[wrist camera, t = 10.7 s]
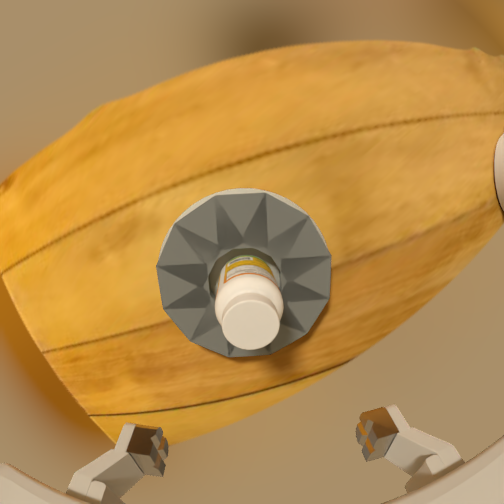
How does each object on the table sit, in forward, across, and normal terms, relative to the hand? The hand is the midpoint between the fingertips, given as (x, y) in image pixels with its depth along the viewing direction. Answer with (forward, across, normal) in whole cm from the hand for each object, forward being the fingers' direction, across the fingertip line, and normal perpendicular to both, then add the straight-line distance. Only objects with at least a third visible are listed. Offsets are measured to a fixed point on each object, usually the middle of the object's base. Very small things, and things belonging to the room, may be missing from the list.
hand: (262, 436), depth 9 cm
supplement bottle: (+19, 0, 0) cm, 19 cm away
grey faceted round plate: (+20, 0, 0) cm, 20 cm away
